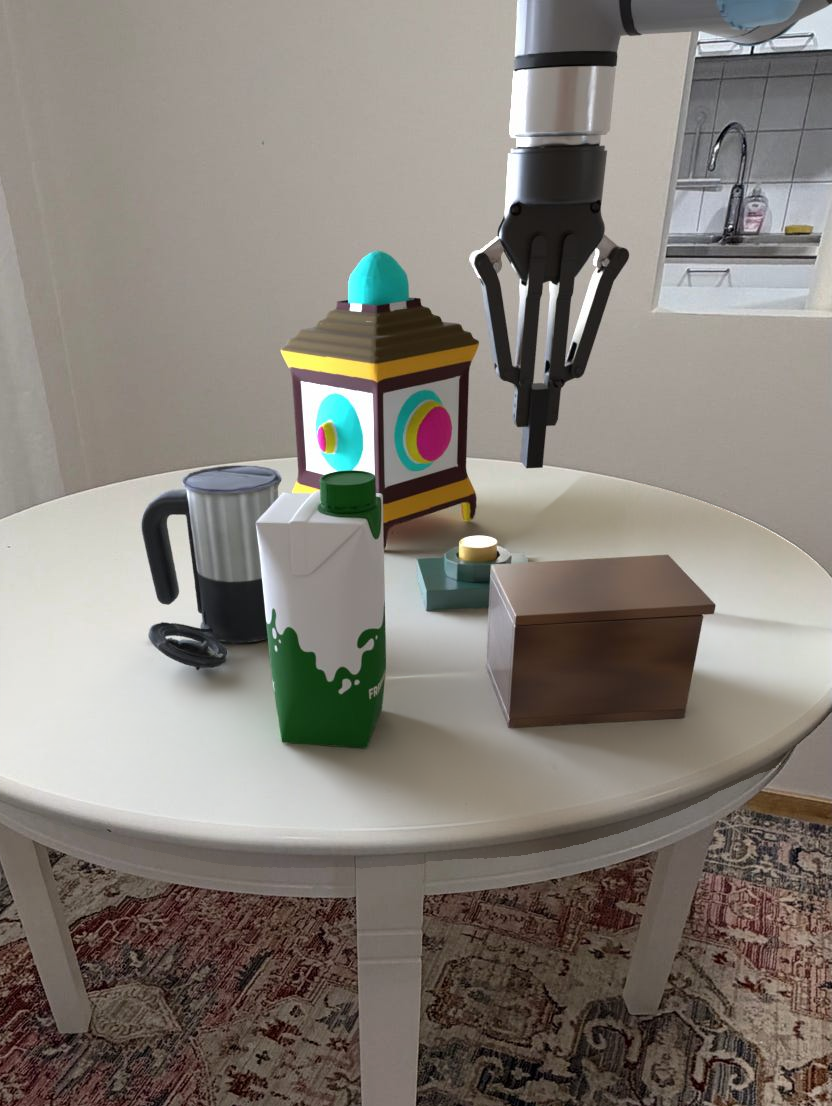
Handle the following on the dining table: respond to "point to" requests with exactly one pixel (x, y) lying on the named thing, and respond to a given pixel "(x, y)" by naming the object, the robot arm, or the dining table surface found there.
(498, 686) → the chest
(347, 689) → the milk carton
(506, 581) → the chest lid
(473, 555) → the button
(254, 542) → the milk frother
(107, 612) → the dining table surface
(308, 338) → the decorative lantern
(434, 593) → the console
